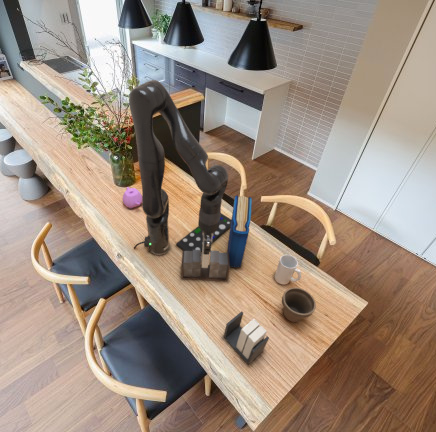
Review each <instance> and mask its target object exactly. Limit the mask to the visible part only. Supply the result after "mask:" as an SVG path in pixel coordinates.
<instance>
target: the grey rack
mask: <svg viewBox="0 0 436 432" xmlns="http://www.w3.org/2000/svg"><path fill="white" fill-rule="evenodd" d="M181 251H182V252H181V267H180V268H181V280H190V281H192V280H193V281H209V282H212V281H213V282H228V279H229V275H230V269H231V266H230V262H229V253H227V252H220V250H211V251H210V254H209V263H208V268H202V252H201V250H193V251H183V250H181Z"/></svg>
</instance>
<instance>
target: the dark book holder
mask: <svg viewBox="0 0 436 432" xmlns="http://www.w3.org/2000/svg"><path fill="white" fill-rule="evenodd" d="M243 315H244V312H243V311H242V310H241V311H240V312H239V313H237V315H235V316H234V317H233V318H231V320H229V321H228V322H227V323H226V325H225V328H224V334H223V339H224V340H225V341H226V342H227V343H228V345H230V347H232V348H233V350H234V351H235V352H236V353H237V354H238V355H239V356H240V357H241V358H242V360H243V361H244V362H245V363H246V364H247V365H248V366H249V365H250V364H252V362H253V361H254V360H255V359H256V358H257V357H259V355H261V354H262V353H263V352H264V350H265V347H266V346H267V343H268V342H269V340H270V337H269V336H266V334H267V332H268V330H267V329H265V328H264V326H263V325H261V324H260V323H259V322H258V321H257V320H256V319H255V318H252V319H250V321H249V322H248V323H247V324H246V325H244V326H243V327H242V326H241V323H242V319H243Z"/></svg>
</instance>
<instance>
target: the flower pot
mask: <svg viewBox="0 0 436 432" xmlns="http://www.w3.org/2000/svg"><path fill="white" fill-rule="evenodd" d="M281 304H282V307H283V308H282V310H283V315H284V318H285V319H287V320H288V321H290V322H300V321H301V320H302V319H306V318H308V317H310V316H311V315H312V314H313V313H314V312H315V310H316V308H317V304H316V300H315V298H314V297H313V295H312V294H311V293H310V292H309V291H307V290H305V289H304V288H301V287H290V288H288V289H286V290H285V291H284V292H283V295H282V297H281Z"/></svg>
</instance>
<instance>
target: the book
mask: <svg viewBox="0 0 436 432" xmlns="http://www.w3.org/2000/svg"><path fill="white" fill-rule="evenodd" d="M252 203H253V199H252V197H251V196H249V197H248V196H245V195H241V196H239V195H235V196H234V201H233V207H232V215H231V218H230V219H231V226H230V229H229V233H228V240H227V249H226V253H229V262H230V268H241V267H242V263H243V259H244V255H245V250H246V246H247V242H248V239H249V233H250V225H251V219H252Z"/></svg>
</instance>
